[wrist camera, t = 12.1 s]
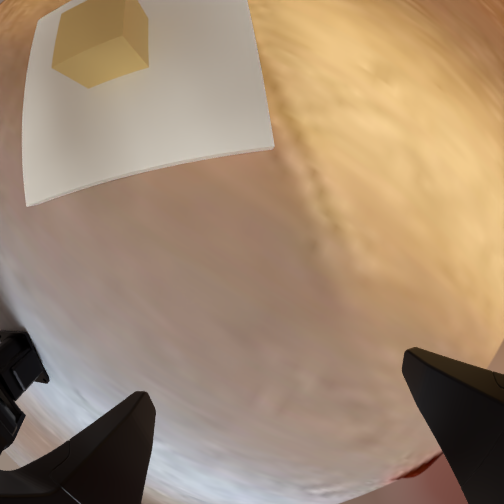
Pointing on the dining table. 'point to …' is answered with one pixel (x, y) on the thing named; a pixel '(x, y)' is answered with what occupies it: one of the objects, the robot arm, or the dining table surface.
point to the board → (146, 101)
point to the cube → (101, 41)
